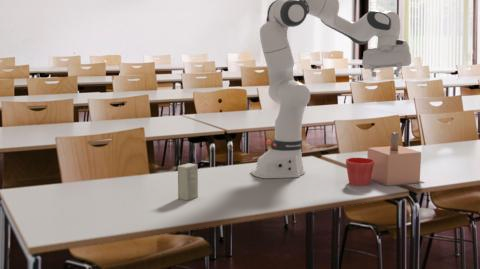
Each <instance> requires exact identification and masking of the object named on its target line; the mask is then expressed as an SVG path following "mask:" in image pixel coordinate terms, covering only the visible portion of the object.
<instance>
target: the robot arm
mask: <svg viewBox="0 0 480 269" xmlns="http://www.w3.org/2000/svg"><path fill="white" fill-rule="evenodd" d="M339 11H340V3H339V0H275V1H273V2H271V3H270V5H269V6H268V9H267V16H266V22H265V23H264V24H263V25H261V27H260V29H259V38H260V45H261V48H262V52H263V56H264V60H265V63H266V67H267V71H268V82H269V83H268V84H269V87H268V95H269V98H270V99H271V100H272V101H273V102H274V103H275V104H277V105H279V111H278V115H277V117H276V119H275V121H274V139H273V140H270V139H267V141H266V144H267V146H270V149H268V150H266V152H264V153H263V154H261V156H259V157H258V159H257V162H256V165H255V167H256V168H253V169H251V170H250V173H251V175H253V176H254V177H257V178H261V179H280V178H282V179H285V178H287V179H288V178H299V177H300V176H303V175H304V174H305V170H304V165H303V159H302V157H303V154H302V152H303V139H302V128H303V126H302V125H303V118H304V114H305V111H306V110H305V109H306V106H307V105H308V104H309V102H310V100H311V91H310V89H309V88H308V87H307V86H306V84H303V83H302V82H300V81H296V80H295V78H294V77H295V76H294V66H295V60H294V57H293V53H292V49H291V45H290V42H289V38H288V29H289V28H290V27H291V28H295V27H298V26H300V25H301V24H303V22H305V20H306V17H307V15H310V16H313V17H315V18H318V19H320V21H321V22H322V23H323V25H325V26H326V27H328V28H330V29H332V30H334V31H335V32H338V33H339V34H342V35H344V36H346V38H348V39H349V40H351V41H352V42H353V43H355V44H357V45H365V44H367V43H368V42H369V41H371V39H372V38H374V37H377V43H376V44H377V46H376V47H374V48H373V47H372V48H367V49H366V50H364V51H363V56H362V61H361V66H362V68H364V70H370V72H371V78H375V77H377V73H376V71H375V69H384V68H385V69H386V68H396V69H394V70H393V75H394V76H399V72H401V70H402V69H403V67H408V66H410V65H411V64H412V55H411V51H410V46H409V43H408V42H407V41H406V40H404V39H400V38H399V36H400V34H401V18H400V16H399V14H398V13H396V12H395V11H392V10H387V11H384V12H383V11H379V10H377V9H371V10H369V11H368V12H367V13H365V14H364V15H362V17H360V18H359V19H358V20H356V21H352V22H351V21H349V20H347V19H345V18H343V17H342V16H339Z"/></svg>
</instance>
